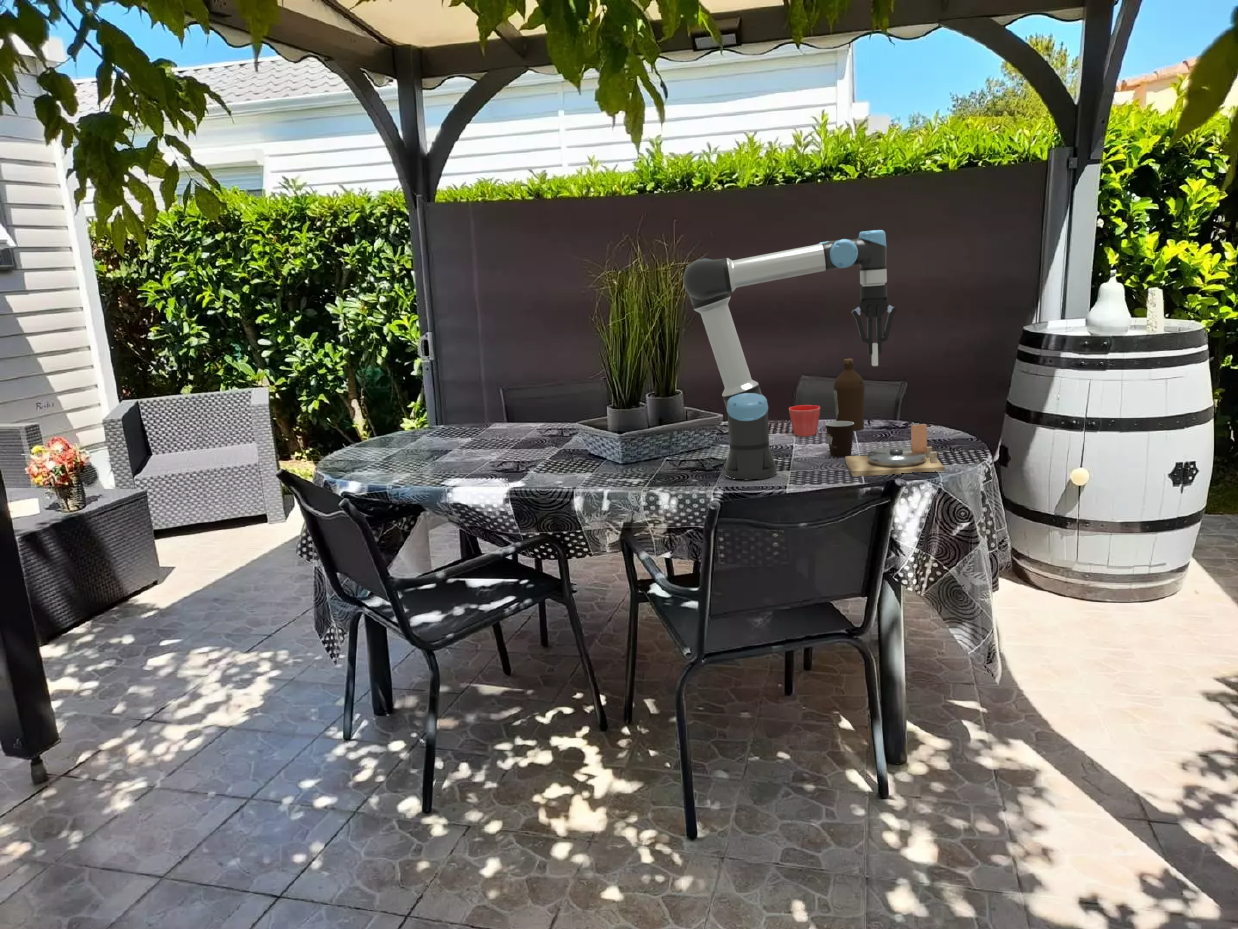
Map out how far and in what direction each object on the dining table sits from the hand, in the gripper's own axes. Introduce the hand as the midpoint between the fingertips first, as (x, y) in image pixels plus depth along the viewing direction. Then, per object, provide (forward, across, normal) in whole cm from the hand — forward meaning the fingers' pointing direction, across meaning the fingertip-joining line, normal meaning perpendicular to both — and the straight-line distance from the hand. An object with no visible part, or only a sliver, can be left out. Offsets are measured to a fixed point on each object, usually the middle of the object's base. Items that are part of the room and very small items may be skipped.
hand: (874, 365), depth 260 cm
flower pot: (+29, +19, -42) cm, 54 cm away
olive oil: (+29, +3, -48) cm, 56 cm away
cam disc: (+27, -4, +12) cm, 30 cm away
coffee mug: (+29, +10, -8) cm, 31 cm away
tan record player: (+28, -3, +12) cm, 31 cm away
